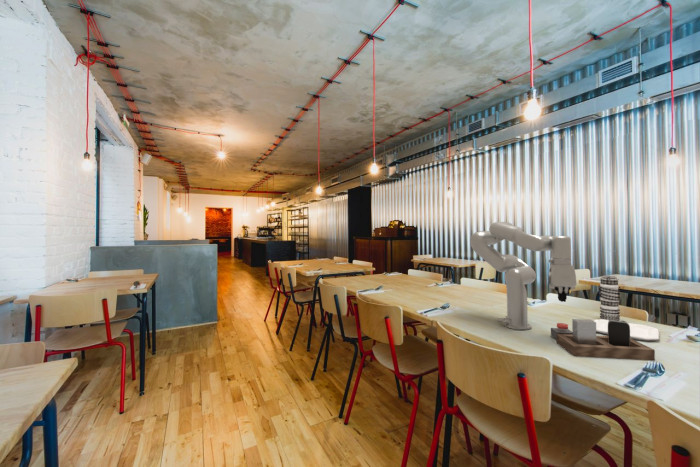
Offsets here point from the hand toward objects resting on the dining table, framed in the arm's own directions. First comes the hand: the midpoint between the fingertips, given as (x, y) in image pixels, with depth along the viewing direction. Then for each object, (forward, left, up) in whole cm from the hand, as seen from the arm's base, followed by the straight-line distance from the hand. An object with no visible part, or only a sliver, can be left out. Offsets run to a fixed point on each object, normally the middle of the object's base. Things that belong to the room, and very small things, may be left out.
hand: (562, 300), depth 142 cm
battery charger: (+15, -13, -17) cm, 26 cm away
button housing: (0, 0, -18) cm, 18 cm away
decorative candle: (+39, +34, -18) cm, 55 cm away
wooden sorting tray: (+9, -13, -18) cm, 24 cm away
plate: (+34, +15, -19) cm, 41 cm away
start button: (0, 0, -13) cm, 13 cm away
